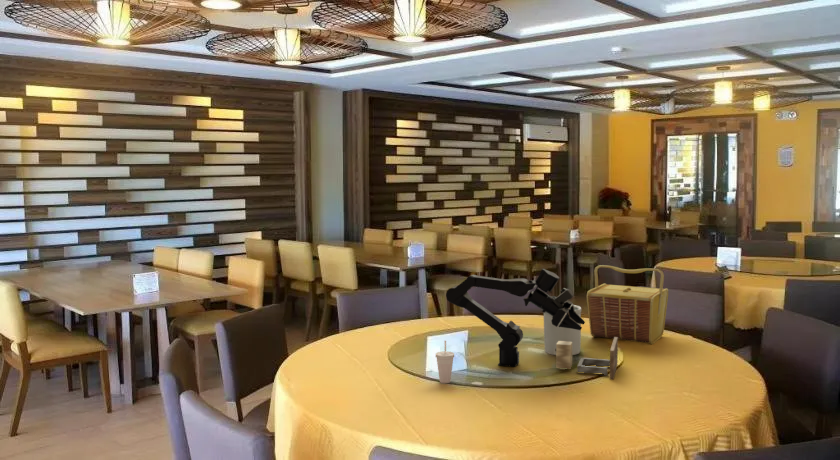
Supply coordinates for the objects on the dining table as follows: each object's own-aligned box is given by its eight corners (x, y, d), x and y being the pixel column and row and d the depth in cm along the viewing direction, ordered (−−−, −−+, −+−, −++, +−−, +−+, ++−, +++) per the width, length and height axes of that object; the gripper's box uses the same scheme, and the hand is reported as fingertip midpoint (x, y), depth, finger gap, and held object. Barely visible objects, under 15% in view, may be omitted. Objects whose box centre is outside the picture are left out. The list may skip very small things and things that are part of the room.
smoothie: (456, 379, 245) (456, 339, 244) (451, 385, 239) (451, 344, 238) (438, 378, 247) (438, 338, 246) (433, 383, 241) (432, 342, 240)
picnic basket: (670, 335, 305) (671, 265, 303) (654, 348, 284) (656, 273, 281) (603, 327, 321) (604, 260, 318) (583, 339, 299) (583, 268, 297)
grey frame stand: (575, 376, 248) (575, 347, 247) (582, 361, 266) (582, 334, 266) (613, 379, 243) (613, 350, 243) (617, 363, 262) (617, 337, 261)
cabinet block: (554, 368, 257) (554, 343, 257) (556, 364, 262) (556, 340, 261) (570, 369, 256) (570, 345, 255) (572, 366, 260) (572, 341, 259)
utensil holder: (538, 354, 277) (539, 309, 275) (547, 345, 290) (547, 302, 289) (577, 357, 271) (577, 312, 270) (583, 348, 285) (584, 304, 283)
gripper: (552, 287, 246) (592, 312, 242) (560, 279, 264) (597, 302, 260) (535, 314, 249) (575, 339, 245) (544, 304, 266) (581, 327, 263)
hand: (582, 326), depth 253 cm, fingers open, 9 cm apart
